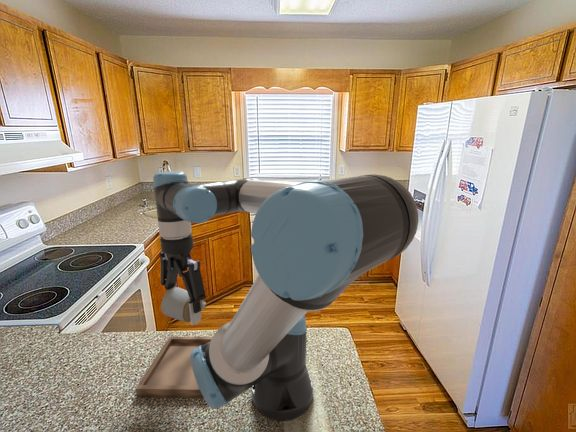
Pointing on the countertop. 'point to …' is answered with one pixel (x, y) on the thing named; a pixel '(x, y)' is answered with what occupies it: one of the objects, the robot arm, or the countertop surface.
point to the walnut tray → (172, 371)
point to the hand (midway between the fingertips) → (185, 316)
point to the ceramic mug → (177, 304)
